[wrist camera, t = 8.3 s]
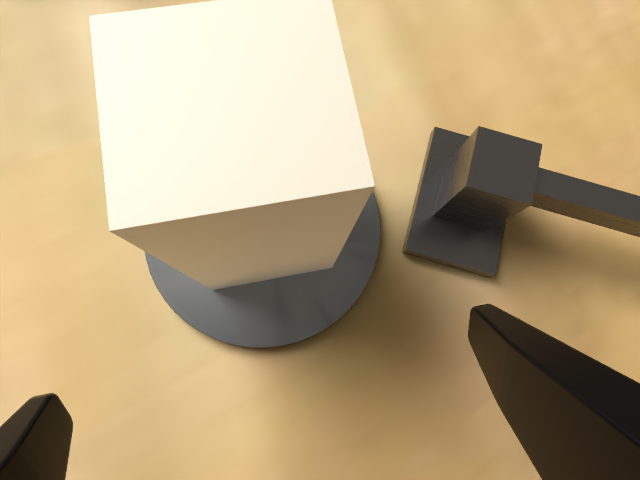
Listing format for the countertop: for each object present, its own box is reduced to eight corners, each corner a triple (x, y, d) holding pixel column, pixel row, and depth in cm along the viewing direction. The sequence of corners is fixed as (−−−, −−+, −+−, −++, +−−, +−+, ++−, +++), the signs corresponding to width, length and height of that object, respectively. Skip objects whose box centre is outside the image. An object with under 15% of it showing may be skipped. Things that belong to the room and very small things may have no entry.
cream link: (331, 268, 18) (374, 185, 8) (212, 289, 18) (109, 230, 8) (311, 166, 19) (327, -14, 9) (197, 185, 18) (88, 15, 9)
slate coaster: (369, 359, 18) (371, 359, 17) (127, 334, 18) (121, 334, 17) (385, 139, 20) (387, 133, 20) (171, 113, 20) (167, 106, 19)
